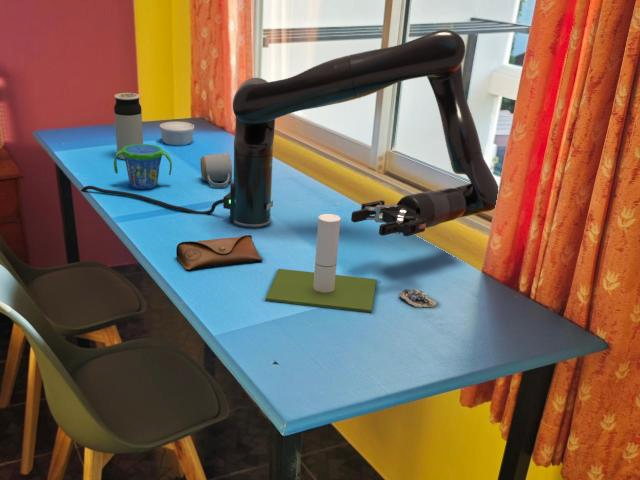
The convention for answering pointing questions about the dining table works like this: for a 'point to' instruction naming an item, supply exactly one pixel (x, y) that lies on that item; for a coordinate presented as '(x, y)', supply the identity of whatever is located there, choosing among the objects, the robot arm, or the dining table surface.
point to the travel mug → (128, 121)
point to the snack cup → (142, 164)
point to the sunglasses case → (217, 252)
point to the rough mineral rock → (417, 298)
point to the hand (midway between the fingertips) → (366, 223)
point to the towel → (300, 291)
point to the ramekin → (177, 133)
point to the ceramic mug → (216, 169)
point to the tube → (326, 252)
